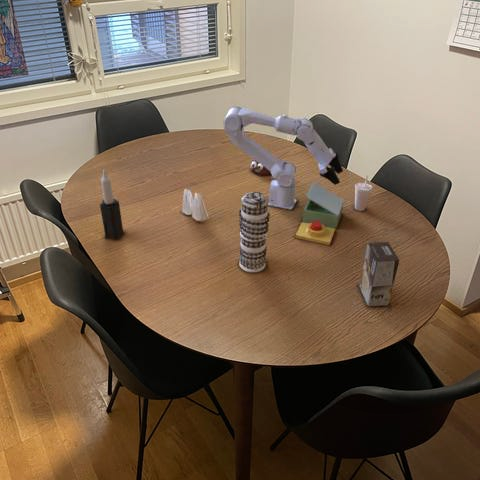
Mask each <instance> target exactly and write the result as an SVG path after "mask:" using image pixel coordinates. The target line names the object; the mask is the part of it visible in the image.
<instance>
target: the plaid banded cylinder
mask: <svg viewBox="0 0 480 480" xmlns="http://www.w3.org/2000/svg"><path fill="white" fill-rule="evenodd" d="M240 203H241V209H239V210H238V218H239V220H238V222H239V224H238V225H239V235H240V237H241V239H240V244H239V255H238V257H239V259H238V261H239V267H240V268H241V270H244V271H245V272H247V273H259V272H261V271H263V270H265V268H266V266H267V265H266V262H267V261H266V260H267V248H268V246H267V241H266V240H267V236H268V232H269V222H270V217H271V215H270V214H271V213H270V212H269V209H268V207H269V205H268V204H269V197H266V196H265V195H264V194H263V193H262V192H260V191H250V192H247V193H246V194H245V195H244V196H242V197H241V199H240Z"/></svg>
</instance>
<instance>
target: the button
mask: <svg viewBox="0 0 480 480" xmlns="http://www.w3.org/2000/svg"><path fill="white" fill-rule="evenodd" d="M321 227H322V223H321V222H318V221H313V222H312V223H311V229H312V230H314V231H320V230H321Z"/></svg>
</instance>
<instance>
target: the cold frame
mask: <svg viewBox="0 0 480 480" xmlns="http://www.w3.org/2000/svg"><path fill="white" fill-rule="evenodd" d="M343 208H344V204H343V205H342V207H341V210H340V213H339V215H338V216H336V215H335V214H333V213H331V212H330V211H328V210H326V209H325V208H323V207H321V206H320V205H318V204H317V203H315V202H313V201H312V200H310V199H308V201H307V202H306V204H305V206H304V208H303V211H302V222H304V223H309V224H310V223H312V222H313V221H318V222H321V223H322V225H324V226H325V227H328V228H333V229H335V230H337V228H338V225H339V222H340V219H341V217H342V214H343ZM302 222H301V223H302Z"/></svg>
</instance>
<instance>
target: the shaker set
mask: <svg viewBox="0 0 480 480" xmlns="http://www.w3.org/2000/svg"><path fill="white" fill-rule="evenodd" d="M182 197H183V199H182V209H181V213H183V214H185V215H186V216H191V218H193V219H194V220H195V221H197V222H199V223H202V222H204V221H206V220H207V219H210V217H209V213H208V211H207V208H206V205H205V203H204V199H203V197H202V195H201V193H199V192H198V193H197V192H194V194H192V191H191V190H190V189H189V188H188V189H187V188H184V189H183V195H182Z"/></svg>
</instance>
